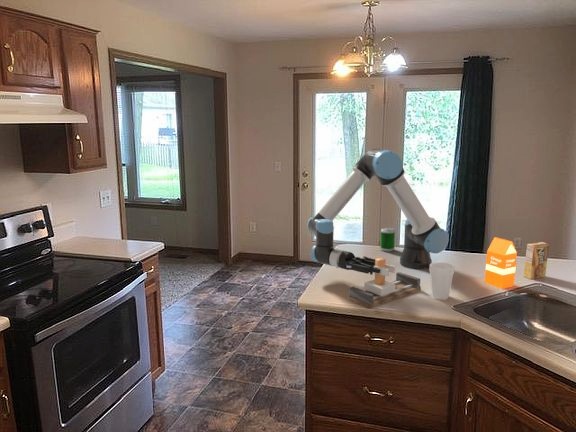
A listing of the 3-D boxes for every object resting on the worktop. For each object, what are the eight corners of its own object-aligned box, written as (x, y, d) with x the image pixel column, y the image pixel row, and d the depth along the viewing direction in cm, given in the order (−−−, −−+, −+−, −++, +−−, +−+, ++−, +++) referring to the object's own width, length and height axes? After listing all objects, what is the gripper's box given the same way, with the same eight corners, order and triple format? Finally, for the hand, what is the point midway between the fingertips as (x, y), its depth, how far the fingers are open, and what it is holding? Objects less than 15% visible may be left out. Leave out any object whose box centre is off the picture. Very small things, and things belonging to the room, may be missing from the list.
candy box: (537, 274, 210) (541, 241, 207) (545, 277, 206) (549, 244, 203) (523, 276, 207) (526, 243, 204) (530, 279, 203) (534, 246, 200)
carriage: (377, 285, 191) (378, 255, 188) (394, 291, 184) (396, 260, 181) (364, 289, 186) (365, 258, 183) (381, 296, 179) (382, 264, 176)
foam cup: (424, 292, 189) (426, 262, 186) (446, 291, 190) (448, 261, 187) (433, 301, 180) (435, 270, 177) (456, 300, 181) (458, 269, 178)
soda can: (394, 252, 246) (395, 230, 244) (380, 251, 248) (380, 230, 245) (394, 248, 254) (394, 227, 251) (380, 247, 255) (380, 226, 253)
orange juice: (501, 288, 193) (505, 242, 188) (484, 282, 200) (487, 237, 196) (514, 285, 196) (518, 240, 192) (496, 279, 204) (500, 235, 200)
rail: (399, 282, 201) (400, 271, 200) (420, 289, 192) (421, 278, 191) (348, 299, 183) (348, 287, 182) (368, 308, 174) (369, 296, 173)
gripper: (354, 263, 202) (402, 274, 186) (330, 273, 190) (379, 286, 174) (354, 246, 200) (402, 256, 185) (330, 255, 188) (380, 267, 173)
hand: (391, 271), depth 180 cm, fingers closed on carriage, 4 cm apart
